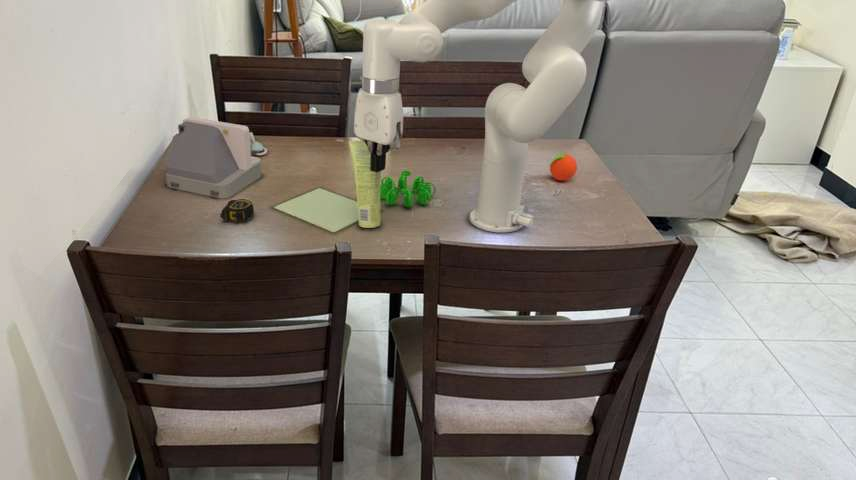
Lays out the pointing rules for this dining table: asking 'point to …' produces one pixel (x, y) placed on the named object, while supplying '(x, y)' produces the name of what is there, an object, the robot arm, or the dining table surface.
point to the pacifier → (256, 146)
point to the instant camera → (211, 158)
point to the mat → (323, 209)
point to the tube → (366, 185)
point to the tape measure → (237, 210)
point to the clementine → (563, 167)
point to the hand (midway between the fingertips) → (377, 170)
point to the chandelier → (405, 190)
